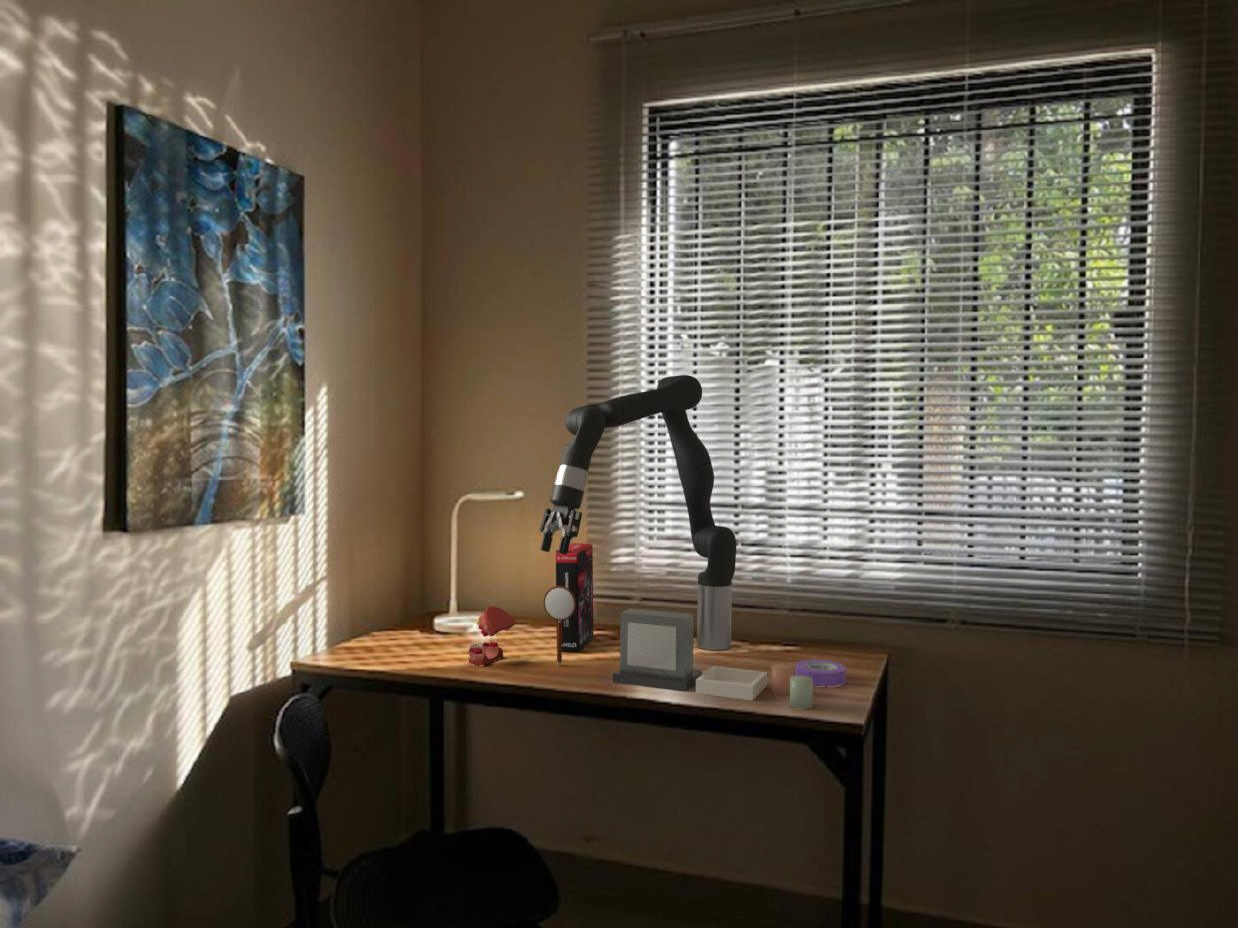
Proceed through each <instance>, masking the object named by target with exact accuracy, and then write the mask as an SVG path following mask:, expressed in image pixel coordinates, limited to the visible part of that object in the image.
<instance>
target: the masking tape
mask: <svg viewBox="0 0 1238 928" xmlns="http://www.w3.org/2000/svg"><path fill="white" fill-rule="evenodd" d="M794 671H795V672H794V673H795V675H794V676H808V677H811V678H813V686H825V687H828V686H837V685H841V684H843V683H845V682H846V681H847V667H846V666H845V665H844V664H842V663H839V662H836V661H832V660H824V659H807V660H801V661H797V662H796V663H795V670H794ZM846 683H847V682H846Z"/></svg>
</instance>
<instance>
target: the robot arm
mask: <svg viewBox="0 0 1238 928" xmlns="http://www.w3.org/2000/svg"><path fill="white" fill-rule="evenodd" d="M702 397H703V387H702V384H701V382H700V381H699V379H697V378H696V377H694V376H692V375H688V374H687V375H686V374H680V375H673V376H666V377H663V378H661V380H660V381H659V382H658V384H657V386H656V388H655V389H651V390H646V391H641V392H635V393H629V394H625V395H621V396H618V397H617V396H616V397H614V398H611V399H608V400H605V401H602V402H598V403H593V404H592V403H591V404H587V405H583V406H582V405H581V406H578V407H575V408H573V409H571V410H570V411H569V412H568V413H567V415H566V416H565V422H564V424H565V428H566V430H567V431H568V432H569V433H570V434H571V435H573V436H574V438H573V440H572V441H571V442H569V443H567V444H566V445H565V446H564V448H563V451H562V455H561V460H560V464H559V466H558V469H557V473H556V474H555V477H554V483H553V487H552V491H551V495H550V499H549V502H550V503H552V504H553V507H552V508H548V507H546V508H545V510H544V513H543V517H542V520H541V523H540V527H539V532H540V533H542V535H543V538H542V541H541V545H540V551H542V552H545V553H546V552H547V553H549V552H550V551H551V547H552V543H553V538H554V536H555V534H556V532H557V531H561V538H560V542H559V546H558V549H557V550H558V553H560V554H564V555H566V554H567V553H568V549H569V545H570V544H571V541H572V540H573V538H577V537H578V535H579V532H580V531H579V530H580V527H581V526H580V525H581V522H582V516H583V512H581V511H578V510H580V509H581V506H582V503H583V499H584V495H585V490H586V485H587V482H588V475H589V474H588V473H589V469H590V465H591V461H592V456H593V454H594V453H595V451H596V449H597V446H598V445H599V443H600V440H601V438H602V436H603V434H604V431H605V429H612V428H617V427H618V428H619V427H620V426H623V425H626V424H627V425H628V424H630V423H634V422H636V421H639V420H642V419H645V418H648V417H651V416H654V415H657V414H662V418H663V420H664V424H665V426H666V428H667V429H666V430H667V432H668V436H669V439H670V443H671V444H670V445H671V447H672V451H673V455H674V458H675V465H676V468H677V473H678V476H679V481H680V483H681V487H682V490H683V491H682V493H683V495H684V500H685V505H686V508H687V509H686V510H687V515H688V519H689V527H690V535H691V541H692V546H693V548H694V551H695V553H697V554H698V556H700V557H702V558H706V559H707V566H706V569H704V570H703V571H701V572H699V574H698V575H697V620H696V621H697V623H696V624H697V625H696V626H697V627H696V630H697V632H696V633H697V634H696V646H697V648H700V649H703V650H706V651H725V650H726V651H727V650H729V649H731V648H730V647H732V600H733V599H732V597H733V596H732V595H733V593H732V592H733V591H732V589H733V588H732V587H733V586H732V584H733V578H734V575H735V571H736V561H737V560H736V559H737V539H736V535H735V533H734V532H733V530H732V529H730V528H729V527H727V526H723V525H716V523H715V521H714V518H713V517H714V516H713V513H712V508H711V500H712V494H713V490H714V485H715V474H714V473H715V471H714V468H713V464H712V461H711V456H710V453H709V451H708V449H707V448H706V446H705V445H704V443H703V442H702V440H701V439H700V437H699V436H698V435H697V434H696V432H695V430H694V429H693V427H692V426H691V424H690V421H689V418H688V414H687V411H688V410H691V409H693V408H695V407H696V406H697V405H699V404H700V402H701V399H702Z"/></svg>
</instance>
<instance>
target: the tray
mask: <svg viewBox="0 0 1238 928" xmlns="http://www.w3.org/2000/svg"><path fill="white" fill-rule="evenodd" d="M767 686H768V672H767V671H760V670H759V671H758V670H750V669H741V668H733V667H726V666H725V667H723V666H715V665H713V666H711V667H710V668H709V669H708V670H706V671H705V672H704V673H702V675H701V676H700V677H699V678H697V679H696V684H695V694H697V695H705V696H713V697H722V698H730V699H737V700H745V701H754V700H755V699H756V698H757V696H759V694H761V693H762V691H763V690H765V688H766V687H767ZM753 699H754V700H753Z"/></svg>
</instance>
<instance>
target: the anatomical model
mask: <svg viewBox="0 0 1238 928" xmlns="http://www.w3.org/2000/svg"><path fill="white" fill-rule="evenodd" d="M516 623H517V621H516V620H515V619H514V618H513V617H512V616H511V615H510V614H509V613H508V612H506V611H505V610H504V609H502V608H500V607H498V606H493V605H491V606H489V607H487V608H486V609H485V610H484V612H483V614H481V615H479V617H478V618H477V620H476V623H475V624H476V625H477V627H478V629H479V631H480V633H481V634H482V636H483V637H493V636H496V635H497V634H498V633H500V632H501V631H508V630H510V629H511V628H513V627H514V626H515V625H516ZM498 645H499V644H498V642H495V641H490V642H489V641H487V642H486V641H485V642H483V643H481V642H478V643H475V644H470V646H468V650H467V651H468V656H469V658H468V663H469V664H470V663H471V664H470V665H472V664H474V665H473V666H476V665H485V666H487V665H486V664H488V665H490V664H492V663H494V662H493V661H495V660H497V659H499V658H501V659H503V658H504V650H503V648H502V647H501V646H498ZM499 660H500V659H499ZM497 661H498V660H497ZM491 662H492V663H491ZM495 662H496V661H495ZM489 663H490V664H489Z"/></svg>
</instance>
